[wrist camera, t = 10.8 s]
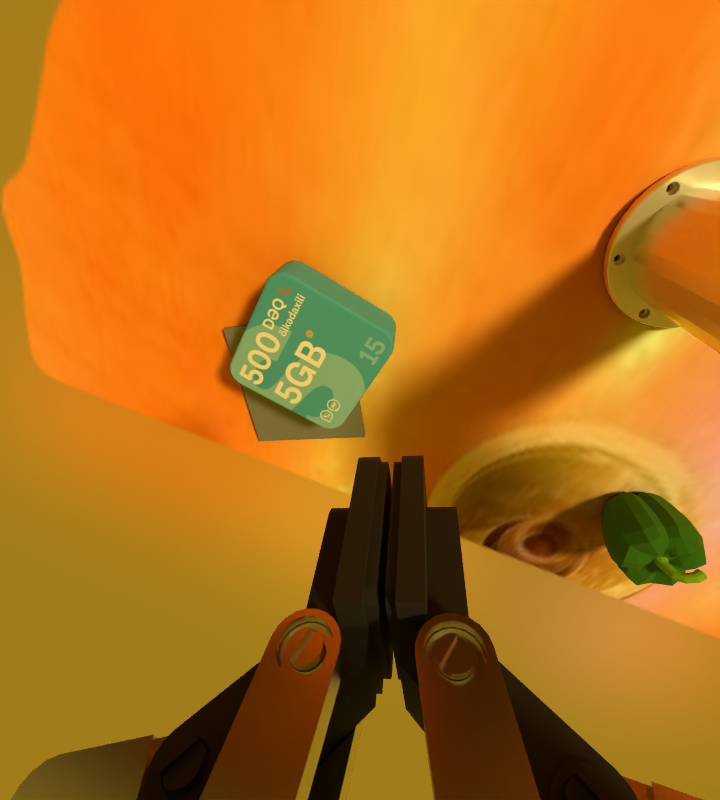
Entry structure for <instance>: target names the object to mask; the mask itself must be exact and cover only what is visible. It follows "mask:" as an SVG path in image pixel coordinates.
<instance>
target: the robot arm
mask: <svg viewBox="0 0 720 800" xmlns="http://www.w3.org/2000/svg"><path fill="white" fill-rule="evenodd" d="M669 184H670V188H669V189H668V190H667V191H666V188H667V186H668V185H669ZM617 255H618V258H617V259H616V260H614V258H615V257H616V256H617ZM604 281H605V285H606V290H607V292H608V294H609V296H610V298H611V300H612V301H613V302H614V303H615V305H616V306H617V307H618V308H619V309H620V310H621V311H622V312H624V313H625V314H626V315H627V316H628V317H630V318H632V319H634V320H635V321H637V322H639V323H643V324H646V325H650V326H653V327H664V328H672V327H682V328H683V329H685V330H686V331H688V332H689V333H691V334H692V335H693V336H695V337H696V338H698V339H699V340H701V341H702V342H704V343H705V344H707V345H708V346H710V347H711V348H712V349H714V350H715V351H717V352H718V353H720V158H714V159H707V160H703V161H700V162H696V163H693V164H690V165H687V166H685V167H683V168H681V169H679V170H676V171H674V172H672V173H670V174H668V175H667V176H665V177H664V178H662V179H661V180H659V181H658V182H657V183H655V184H654V185H652V186H651V187H649V188H648V189H647V190H646V191H645V192H644V193H643V194H642V195H641V196H640V197H639V198H637V199H636V200H635V201H634V203H633V204H632V205H631V206H630V207H629V209H628V210H627V211H626V212H625V214H624V215H623V216H622V218H621V219H620V221H619V223H618V224H617V226H616V228H615V229H614V231H613V233H612V236H611V238H610V241H609V243H608V246H607V249H606V254H605V258H604ZM641 310H642V311H641ZM640 311H641V312H640ZM393 651H394V657H395V663H396V668H397V674H398V679H400V680H401V683H402V689H403V694H404V700H405V706H406V709H407V711H408V712H409V713H410V714H411V716H412V717H413V718H414V720H415V721H416V722H417V723H418V724H419V726H420V727H421V728H422V730H423V731H424V732H425V738H426V746H427V753H428V760H429V768H430V775H431V782H432V789H433V797H434V800H703V799H700V798H697V797H694V796H692V795H689V794H686V793H683V792H680V791H677V790H674V789H672V788H669V787H666V786H663V785H660V784H657V783H655V782H651V783H650V785H646V784H643V783H641V782H637V781H635V780H632V779H629V778H626V777H623V776H621V775H620V774H619V773H618V772H617V770H615V768H614V767H613V766H611V765H610V764H609V763H608V762H607V761H606V760H605V759H604V758H603V757H602V756H601V755H600V754H598V753H597V752H596V751H595V750H594V749H593V748H592V747H591V746H590V745H589V744H588V743H587V742H585V741H584V740H583V739H582V738H581V737H580V736H579V735H578V734H577V733H576V732H575V731H573V730H572V729H571V728H570V727H569V726H568V725H567V724H566V723H565V722H564V721H563V720H562V719H561V718H559V717H558V716H557V715H556V714H555V713H554V712H553V711H552V710H551V709H550V708H548V706H546V705H545V704H544V703H543V702H542V701H541V700H540V699H539V698H538V697H537V696H536V695H534V694H533V693H532V692H531V691H530V690H529V689H528V688H527V687H526V686H525V685H524V684H523V683H522V682H520V681H519V680H518V679H517V678H516V677H515V676H514V675H513V674H512V673H511V672H510V671H508V670H507V669H506V668H505V667H504V666H503V665H502V664H501V663H500V662H499V661H498V658H497V654H496V651H495V648H494V645H493V643H492V641H491V639H490V637H489V635H488V634H487V632H486V631H485V630H484V629H483V628H482V627H481V625H480V624H478V623H477V622H475V621H474V620H472V619H471V618H469V616H468V608H467V598H466V589H465V580H464V571H463V562H462V553H461V544H460V535H459V526H458V517H457V509H456V507H427V500H426V486H425V473H424V459H423V456H402V462H394V471H393V485H391V478H390V470H389V464H388V462H381V459H380V457H364V458H359V460H358V464H357V470H356V475H355V480H354V486H353V491H352V497H351V502H350V507H349V508H332V509H331V511H330V513H329V516H328V520H327V524H326V528H325V532H324V537H323V541H322V545H321V550H320V553H319V558H318V562H317V566H316V570H315V575H314V579H313V583H312V587H311V592H310V595H309V600H308V604H307V608H306V609H303V610H300V611H296V612H294V613H293V614H291V615H289V616H288V617H286V618H285V619H284V620H283V621H282V622H281V623H280V624H279V625H278V626H277V628H276V629H275V631H274V633H273V634H272V636H271V638H270V640H269V643H268V645H267V647H266V650H265V652H264V654H263V656H262V658H261V661H260V662H259V663H258V664H256V665H255V666H254V667H253V668H251V669H250V670H249V671H248V672H246V674H244V675H243V676H242V677H240V678H239V679H238V680H236V681H235V682H234V683H233V684H231V685H230V686H229V687H228V688H226V689H225V690H224V691H223V692H221V693H220V694H219V695H218V696H216V697H215V698H214V699H213V700H211V701H210V702H209V703H208V704H206V705H205V706H204V707H203V708H201V709H200V710H199V711H198V712H196V713H195V714H194V715H193V716H191V717H190V718H189V719H188V720H186V721H185V722H184V723H183V724H181V725H180V726H179V727H178V728H176V729H175V730H174V731H173V732H172V733H171V734H170V735H169V736H166V737H162V738H156V737H155V736H154V735H149V736H145V737H140V738H136V739H131V740H126V741H121V742H116V743H111V744H107V745H102V746H98V747H93V748H88V749H83V750H78V751H73V752H69V753H64V754H60V755H57V756H55V757H53V758H50V759H48V760H46V761H45V762H43V763H42V764H41V765H40V766H38V767H37V768H36V769H34V770H33V771H32V772H31V773H30V774H29V775H28V776H27V778H26V779H25V780H24V781H23V782H22V783H21V784H20V786H19V787H18V789H17V790H16V792H15V794H14V795H13V797H12V799H11V800H346V799H347V794H348V790H349V785H350V781H351V776H352V771H353V767H354V762H355V758H356V753H357V749H358V744H359V739H360V735H361V731H362V723H363V719H364V718H365V717H366V715H367V714H368V713H369V712H370V711H371V710H372V709H373V708H374V707H375V705H376V694H382V688H383V679H391V677H392V664H393Z"/></svg>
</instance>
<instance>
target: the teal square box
mask: <svg viewBox="0 0 720 800" xmlns="http://www.w3.org/2000/svg"><path fill="white" fill-rule="evenodd" d="M395 331H396V325H395V322H394V320H393V318H392V317H391V316H390V315H389V314H388V313H386V312H385V311H383V310H381V309H380V308H378V307H376V306H375V305H373V304H371V303H370V302H368V301H366V300H365V299H363V298H361V297H360V296H358V295H356V294H355V293H353V292H351V291H350V290H348V289H346V288H345V287H343V286H341V285H340V284H338V283H336V282H335V281H333V280H331V279H330V278H328V277H326V276H325V275H323V274H321V273H320V272H318V271H316V270H315V269H313V268H312V267H310V266H308V265H307V264H305V263H303V262H301V261H289V262H287V263H285V264H284V265H283V266H282V267H280V268H279V269H278V270H277V271H276V272H275V273H274V274H273V275H271V276H270V277H269V278H268V280H267V281H266V284H265V286H264V288H263V290H262V293H261V295H260V297H259V299H258V302H257V304H256V306H255V309H254V311H253V313H252V315H251V318H250V320H249V322H248V324H247V327H246V329H245V331H244V333H243V336H242V338H241V340H240V343H239V345H238V347H237V349H236V352H235V354H234V356H233V358H232V361H231V363H230V372H231V375H232V376H233V378H234V379H235V380H236V381H237V382H238V383H240V384H241V385H243V386H245V387H247V388H249V389H251V390H253V391H255V392H257V393H258V394H260V395H262V396H264V397H266V398H268V399H270V400H272V401H274V402H276V403H277V404H279V405H281V406H283V407H285V408H287V409H289V410H291V411H293V412H294V413H296V414H298V415H300V416H302V417H304V418H306V419H308V420H310V421H312V422H313V423H315V424H317V425H319V426H321V427H323V428H327V429H334V428H337V427H339V426H341V425H342V424H343V423H344V421H345V420H346V419H347V417H348V416H349V414H350V413H351V411H352V410H353V408H354V407H355V406H356V404H357V403H358V401H359V400H360V398H361V397H362V396H363V394H364V393H365V391H366V390H367V388H368V387H369V385H370V384H371V383H372V381H373V380H374V378H375V377H376V375H377V374H378V373H379V371H380V370H381V368H382V367H383V365H384V364H385V363H386V361H387V360H388V358H389V357H390V355H391V354H392V352H393V348H394V340H395Z"/></svg>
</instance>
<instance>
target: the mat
mask: <svg viewBox="0 0 720 800" xmlns="http://www.w3.org/2000/svg"><path fill="white" fill-rule="evenodd" d="M246 327H247V325H246V326H235V327H225V328H224V329H223V331H224V334H225V337H226V340H227V343H228V346H229V349H230V352H231V355H232V358H233V356H234V354H235V352H236V349H237V347H238V345H239V343H240V340H241V338H242V336H243V333H244V331H245V329H246ZM241 386H242V389H243V392H244V395H245V398H246V401H247V404H248V407H249V410H250V413H251V417H252V420H253V423H254V426H255V429H256V432H257V435H258V438H259V441H275V440H300V439H325V438H350V437H365V431H364V425H363V419H362V413H361V406H360V400H359V401H358V403H357V404H356V406H355V407H354V408H353V410H352V411H351V413H350V414H349V416H348V417H347V419H346V420H345V421H344V423H343V424H342V425H341V426H339V427H337V428H334V429H327V428H323V427H321V426H319V425H317V424H315V423H313V422H312V421H310V420H308V419H306V418H304V417H302V416H300V415H298V414H296V413H294V412H293V411H291V410H289V409H287V408H285V407H283V406H281V405H279V404H277V403H276V402H274V401H272V400H270V399H268V398H266V397H264V396H262V395H260V394H258V393H257V392H255V391H253V390H251V389H249V388H247V387H245V386H243V385H241Z"/></svg>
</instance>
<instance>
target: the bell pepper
mask: <svg viewBox="0 0 720 800" xmlns="http://www.w3.org/2000/svg"><path fill="white" fill-rule="evenodd" d="M602 527H603V534H604V540H605V545H606V547H607V550H608V552H609V554H610V556H611V559H612V560H613V561H615V562H616V563H617V565H618V567H619V568H620V569H621V570H622V571H623V572H624V573H625V575H626V576H627V577H628V578H629V579H630V580H631V581H633V582H634V583H635V584H636V585H641V584H646V583H657V584H664V585H672V586H673V585H674V584H675V583H676V582H678V581H679V582H683V583H699V582H701V581H703V580H705V579H707V576H706V574H705V573H704V572H702V571H701V570H698V569H697V570H695V571H694V572H692V573H685V571H686V570H690V569H696V568H698V567H700V566H703V565H705V564H706V557H705V550H704V545H703V539H702V536H701V535H700V534H699V532H698V531H697V530H696V528H695V527H694V526H693V525H692V523H691V522H690V521H689V520H688V519H687V518H686V517H685V516H684V515H683V514H682V513H681V512H679V511H678V510H677V509H676V508H675V507H674V506H672V505H671V504H670V503H669V502H667V501H666V500H665V499H663V498H662V497H660V496H658V495H655V494H651V493H645V492H642V493H640V494H638V495H635V494H632V493H630V492H629V493H620V494H618V495H616V496H614V497H612V498H610V499H609V500H608V502H607V503H606V505H605V506H604V508H603V512H602Z"/></svg>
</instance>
